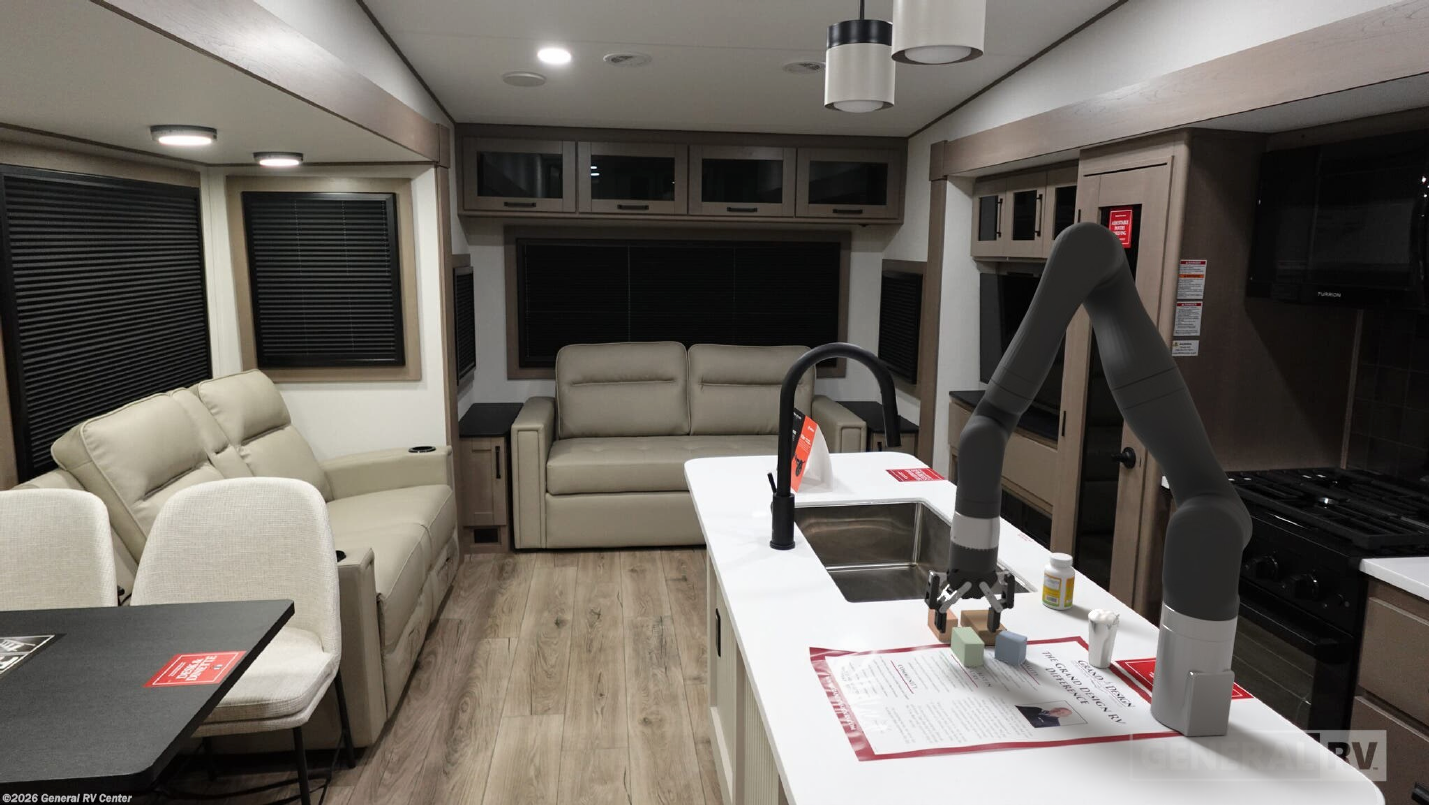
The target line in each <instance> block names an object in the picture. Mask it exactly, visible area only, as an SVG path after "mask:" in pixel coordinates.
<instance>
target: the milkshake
mask: <svg viewBox="0 0 1429 805" xmlns="http://www.w3.org/2000/svg"><path fill="white" fill-rule="evenodd" d="M1120 615H1121V614H1115V612H1113V611H1110V610H1108V609H1106V608H1096V609H1093V610H1091V611H1090V612H1088V615H1087V616H1088V656H1087V657H1088V665H1089V664H1090V665H1091V666H1092V667H1096V668H1099V669H1108V668H1109V667H1110V666H1111V662H1112V656H1113V651H1114V647H1115V646H1114V645H1115V640H1116V637H1117V636H1116V635H1117V633H1118V627H1119V624H1120V619H1119V617H1120Z"/></svg>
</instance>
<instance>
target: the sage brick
mask: <svg viewBox="0 0 1429 805" xmlns="http://www.w3.org/2000/svg"><path fill="white" fill-rule="evenodd" d="M985 646H986V645H985V643H984V642H983V641H982V640H981V639H980V638H979V636H978V635H977V634H976V633H975V632H974V630H973V629H972V628H971V627H962V626H960V627H959V626H958V627H952V636H951V640H950V650H951V652H952V653H953V654H954V656H955V657H956V658H957V660H959V663H961V665H962V666H963V667H983V666H984V658H985V657H984V656H985Z"/></svg>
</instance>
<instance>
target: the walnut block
mask: <svg viewBox="0 0 1429 805" xmlns="http://www.w3.org/2000/svg"><path fill="white" fill-rule="evenodd" d="M987 620H988V609H964V610H963V609H961V610H960V620H959V621H960V622H959V625H960V627H971V628H972V629H973V630H974V632H975V633H976V634H977V635H978V636H979V638H980V639H981V640H982V641H983V642H984V643H985V645H984V646H988V645H989V646H991V645H994V646H995V643H996V636H997V635H998V634H999V633H1000V632H1002V631H1003V630H1006V631H1008V629H1007V628H1006V627H1005V626H1004V625H1003V624H1002V623H1001V622H1000V627H999V629H996V633H991V632H990V631H989V630H988V629H987Z"/></svg>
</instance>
